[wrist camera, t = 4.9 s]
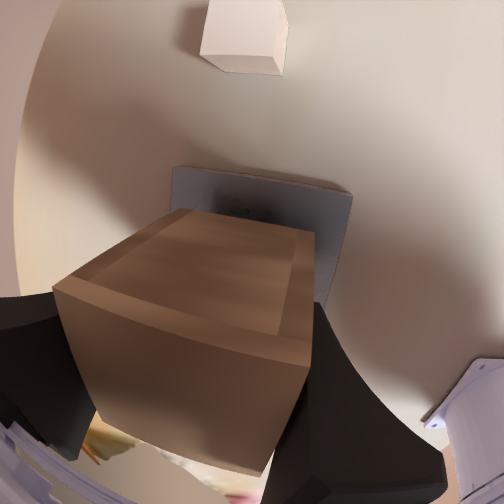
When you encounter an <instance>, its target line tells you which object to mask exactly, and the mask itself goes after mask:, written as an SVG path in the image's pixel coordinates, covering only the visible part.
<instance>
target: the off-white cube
mask: <svg viewBox="0 0 504 504" xmlns="http://www.w3.org/2000/svg"><path fill="white" fill-rule="evenodd" d="M288 29H289V26H288V22H287V18H286V14H285V11H284V7H283V3H282V0H210V2H209V7H208V11H207V16H206V21H205V26H204V32H203V37H202V43H201V49H200V56H202V57H203V58H205V59H206V60H208V61H209V62H211V63H212V64H214V65H215V66H217V67H218V68H219V69H221V70H222V71H224V72H237V73H255V74H268V75H278V76H282V75H283V68H284V60H285V52H286V45H287V37H288Z"/></svg>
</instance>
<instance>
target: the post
mask: <svg viewBox="0 0 504 504" xmlns="http://www.w3.org/2000/svg"><path fill="white" fill-rule="evenodd" d="M352 200H353V196H352V195H351V193H346V192H342V191H337V190H333V189H328V188H323V187H318V186H313V185H308V184H303V183H297V182H292V181H286V180H280V179H274V178H268V177H262V176H256V175H249V174H242V173H235V172H228V171H220V170H212V169H204V168H195V167H185V166H178V167H174V168H172V185H171V208H170V213H172V212H174V211H175V210H177V209H179V208H184V209H190V210H196V211H202V212H208V213H214V214H220V215H226V216H231V217H237V218H242V219H248V220H253V221H259V222H264V223H269V224H275V225H280V226H285V227H290V228H295V229H300V230H305V231H310V232H315V276H314V302H319V303H320V304H321V306H322V308H323V310H324V307H325V303H326V300H327V297H328V293H329V290H330V287H331V283H332V280H333V276H334V272H335V269H336V265H337V262H338V258H339V254H340V250H341V246H342V242H343V238H344V234H345V230H346V226H347V222H348V217H349V213H350V209H351V204H352Z"/></svg>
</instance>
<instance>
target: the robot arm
mask: <svg viewBox="0 0 504 504" xmlns="http://www.w3.org/2000/svg"><path fill="white" fill-rule="evenodd" d="M96 410H97V409H96V407H95V405H94V403H93V401H92V399H91V397H90V395H89V393H88V391H87V388H86V386H85V384H84V382H83V379H82V377H81V375H80V372H79V370H78V367H77V365H76V362H75V360H74V357H73V354H72V352H71V349H70V346H69V343H68V340H67V338H66V335H65V332H64V328H63V325H62V322H61V319H60V315H59V312H58V308H57V305H56V301H55V297H54V293H53V292H48V293H42V294H35V295H28V296H20V297H4V298H0V504H63V503H62V502H60V501H59V500H57V499H56V498H54V497H53V496H52V495H50V494H49V493H50V491H51V490H52V488H53V487H54V486H53V484H52V483H51V482H50V481H48V480H47V479H46V478H45V477H43V476H42V475H41V474H40V473H39V472H37V471H36V470H35V469H34V468H33V467H31V466H30V465H29V464H28V463H27V462H26V461H24V460H23V459H22V458H21V457H20V456H19V455H18V454H17V453H16V451H15V444H16V445H17V446H18V447H19V448H21V450H22V451H23V452H25V453H26V454H27V455H28V456H29V457H30V458H31V459H32V460H34V461H35V462H36V463H37V464H38V465H40V466H41V467H42V468H43V469H44V470H46V471H47V472H48V473H50V474H51V475H52V476H53V477H55V478H56V479H58V480H59V481H60V482H62V483H63V484H64V485H66V486H67V487H69V488H70V489H72V490H73V491H74V492H76V493H78V494H79V495H81V496H82V497H84V498H85V499H87V500H88V501H90V502H92V503H93V504H137V503H135V502H133V501H131V500H128V499H126V498H124V497H122V496H120V495H118V494H117V493H115V492H113V491H111V490H109V489H107V488H105V487H104V486H102V485H100V484H98V483H97V482H95V481H93V480H92V479H90V478H88V477H87V476H85V475H84V474H82V473H80V472H79V471H77V470H76V469H74V468H73V467H71V466H70V465H68V464H67V463H66V462H64V461H63V460H61V459H60V458H59V457H57V456H56V455H55V454H53V453H52V452H51V451H49V450H48V449H47V448H45V447H44V446H43V445H41V444H40V443H39V441H41V442H42V443H43V444H45V445H46V446H47V447H48V446H49V447H50V448H52V449H53V450H54V451H56V452H57V453H58V454H60V455H61V456H62V457H64V458H65V459H67V460H68V461H74V460H77V459H78V456H79V452H80V449H81V446H82V444H83V441H84V438H85V435H86V433H87V430H88V428H89V426H90V423H91V421H92V419H93V416H94V414H95V412H96ZM424 428H425V429H434V428H447V432H448V436H449V440H450V444H451V449H452V454H453V458H454V464H455V470H456V476H457V482H458V489H459V497H460V503H458V504H504V359H481V358H480V359H476V360H475V361H473V363H472V364H471V365H470V367H469V368H468V370H467V371H466V373H465V374H464V375H463V377H462V378H461V380H460V381H459V382H458V384H457V385H456V386H455V388H454V389H453V390H452V391H451V393H450V394H449V395H448V396H447V398H446V399H445V400H444V401H443V403H442V404H441V405H440V406H439V407H438V408H437V410H436V411H435V412H434V413H433V414H432V415H431V416H430V418H429V419H428V420H427V421H426V422H425V423H424ZM14 443H15V444H14ZM447 488H448V481H447V475H446V468H445V462H444V458H443V454H442V453H441V452H440V451H438V450H437V449H436V448H434V447H433V446H431V445H430V444H429V443H427V442H426V441H425V440H423V439H422V438H420V437H419V436H418V435H416V434H415V433H414V432H413V431H412V430H410V429H409V428H408V427H407V426H406V425H405V424H404V423H402V422H401V421H400V420H399V419H398V418H397V417H396V416H395V415H394V414H393V413H392V412H391V411H390V410H389V409H388V408H387V407H386V406H385V405H384V404H383V403H382V402H381V401H380V399H379V398H378V397H377V396H376V395H375V394H374V393H373V392H372V390H371V389H370V388H369V387H368V386H367V384H366V383H365V382H364V380H363V379H362V378H361V376H360V375H359V374H358V372H357V371H356V370H355V368H354V367H353V365H352V363H351V362H350V360H349V359H348V357H347V355H346V354H345V352H344V350H343V349H342V347H341V345H340V343H339V341H338V339H337V338H336V336H335V334H334V332H333V330H332V328H331V326H330V324H329V321H328V319H327V317H326V315H325V313H324V310H323V308H322V306H321V304H320V303H319V302H314V312H313V334H312V351H311V366H310V370H309V372H308V375H307V377H306V380H305V382H304V385H303V387H302V390H301V392H300V394H299V397H298V399H297V401H296V404H295V406H294V408H293V411H292V413H291V415H290V417H289V420H288V422H287V424H286V426H285V428H284V431H283V433H282V435H281V437H280V439H279V441H278V443H277V445H276V447H275V451H274V455H273V459H272V463H271V467H270V471H269V475H268V479H267V482H266V486H265V489H264V493H263V496H262V500H261V503H260V504H429V503H431V502H433V501H434V500H436V499H437V498H439V497H440V496H441V495H442V494H443V493H444V492H445V491H446V490H447Z"/></svg>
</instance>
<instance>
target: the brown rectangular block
mask: <svg viewBox="0 0 504 504" xmlns="http://www.w3.org/2000/svg"><path fill="white" fill-rule="evenodd" d="M314 276H315V232H310V231H305V230H300V229H295V228H290V227H285V226H280V225H275V224H269V223H264V222H259V221H253V220H248V219H242V218H237V217H231V216H226V215H220V214H214V213H208V212H202V211H196V210H190V209H184V208H179V209H177V210H175V211H174V212H172V213H170V214H168V215H166V216H165V217H163V218H161V219H159V220H157V221H156V222H154V223H152V224H150V225H149V226H147V227H145V228H143V229H142V230H140V231H138V232H137V233H135V234H133V235H132V236H130V237H128V238H126V239H125V240H123V241H121V242H120V243H118V244H117V245H115V246H113V247H112V248H110V249H108V250H107V251H105V252H104V253H102V254H100V255H99V256H97V257H96V258H94V259H93V260H91V261H89V262H88V263H86V264H85V265H83V266H82V267H80V268H79V269H77V270H76V271H74V272H73V273H71V274H70V275H68V276H67V277H65V278H64V279H62V280H61V281H59V282H58V283H57V284H55V285H54V286H52V289H53V293H54V297H55V301H56V305H57V308H58V312H59V315H60V319H61V322H62V325H63V328H64V332H65V335H66V338H67V340H68V343H69V346H70V349H71V352H72V354H73V357H74V360H75V362H76V365H77V367H78V370H79V372H80V375H81V377H82V379H83V382H84V384H85V386H86V388H87V391H88V393H89V395H90V397H91V399H92V401H93V403H94V405H95V407H96V409H97V411H98V413H99V415H100V417H101V419H102V421H103V422H105V423H107V424H109V425H111V426H113V427H115V428H117V429H119V430H121V431H123V432H125V433H127V434H129V435H131V436H133V437H135V438H138V439H140V440H142V441H144V442H147V443H149V444H151V445H154V446H156V447H159V448H161V449H164V450H166V451H169V452H171V453H174V454H177V455H180V456H182V457H185V458H188V459H191V460H194V461H197V462H201V463H204V464H207V465H211V466H214V467H218V468H221V469H225V470H229V471H233V472H237V473H242V474H246V475H251V476H256V477H261V475H262V473H263V471H264V469H265V467H266V465H267V463H268V461H269V459H270V457H271V455H272V453H273V451H274V449H275V447H276V445H277V443H278V441H279V439H280V437H281V435H282V433H283V431H284V428H285V426H286V424H287V422H288V420H289V417H290V415H291V413H292V411H293V408H294V406H295V404H296V401H297V399H298V397H299V394H300V392H301V390H302V387H303V385H304V382H305V380H306V377H307V375H308V372H309V370H310V366H311V351H312V334H313V312H314Z"/></svg>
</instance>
